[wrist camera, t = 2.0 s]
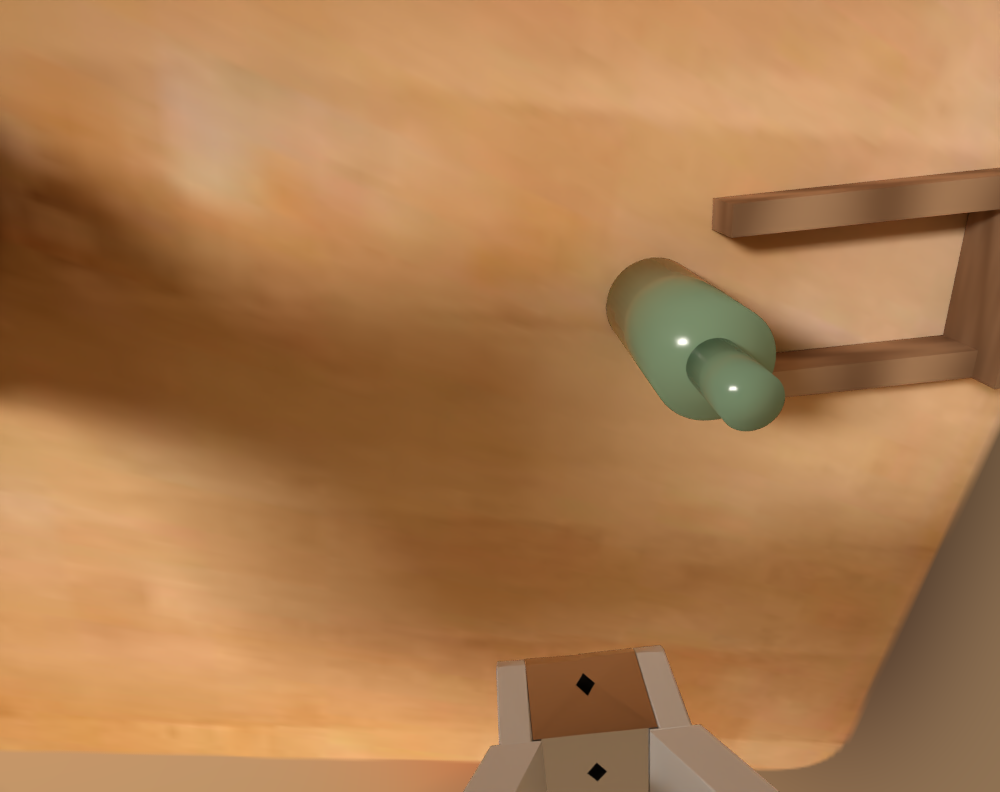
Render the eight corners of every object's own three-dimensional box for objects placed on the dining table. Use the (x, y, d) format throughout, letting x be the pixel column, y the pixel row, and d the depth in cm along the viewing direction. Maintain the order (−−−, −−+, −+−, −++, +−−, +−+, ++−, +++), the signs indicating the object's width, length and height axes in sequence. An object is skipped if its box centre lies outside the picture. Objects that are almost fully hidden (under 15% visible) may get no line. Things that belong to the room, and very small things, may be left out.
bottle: (607, 351, 33) (679, 470, 21) (604, 262, 31) (682, 341, 19) (695, 342, 33) (815, 456, 21) (699, 252, 31) (832, 326, 19)
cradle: (705, 385, 34) (733, 416, 30) (713, 198, 30) (747, 207, 26) (955, 358, 34) (1014, 386, 30) (998, 167, 30) (1071, 173, 26)
